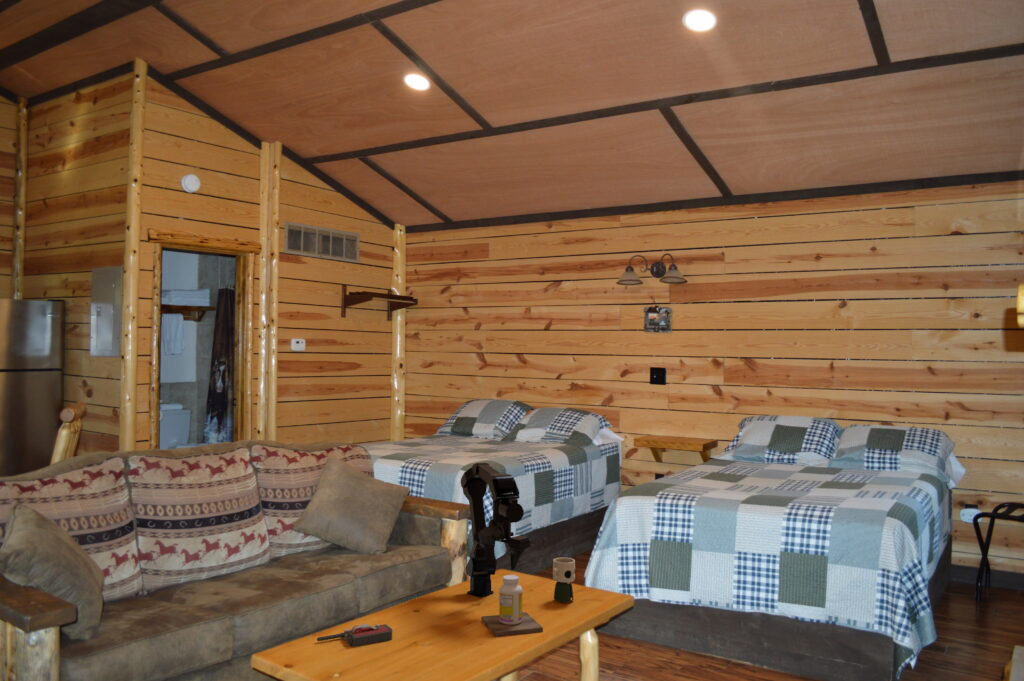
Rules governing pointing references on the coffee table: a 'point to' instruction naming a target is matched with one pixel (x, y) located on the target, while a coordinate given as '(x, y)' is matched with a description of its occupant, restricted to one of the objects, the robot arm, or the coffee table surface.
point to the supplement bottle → (510, 601)
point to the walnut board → (511, 626)
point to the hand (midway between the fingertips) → (501, 567)
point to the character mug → (563, 578)
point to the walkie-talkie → (363, 635)
